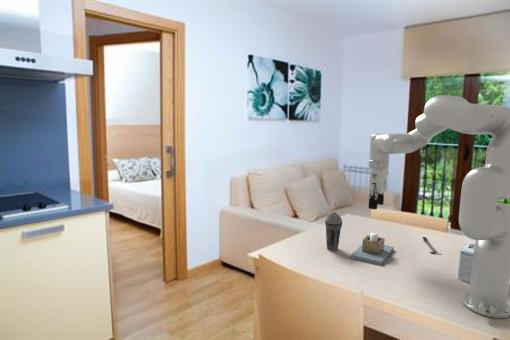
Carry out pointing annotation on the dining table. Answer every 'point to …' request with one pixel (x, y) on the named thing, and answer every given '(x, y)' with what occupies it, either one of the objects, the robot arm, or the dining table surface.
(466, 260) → the light bulb box
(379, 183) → the robot arm
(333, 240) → the beverage cup
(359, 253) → the post board
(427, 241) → the tactical tomahawk
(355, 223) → the dining table surface
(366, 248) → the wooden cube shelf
